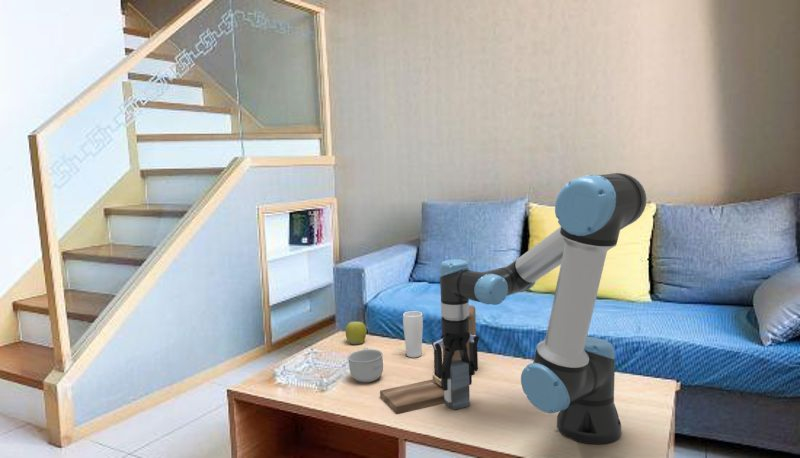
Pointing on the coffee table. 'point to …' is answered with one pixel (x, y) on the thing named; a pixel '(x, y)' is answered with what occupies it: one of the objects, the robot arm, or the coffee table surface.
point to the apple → (356, 332)
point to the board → (413, 396)
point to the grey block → (458, 384)
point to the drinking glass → (413, 333)
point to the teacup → (366, 365)
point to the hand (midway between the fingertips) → (457, 398)
